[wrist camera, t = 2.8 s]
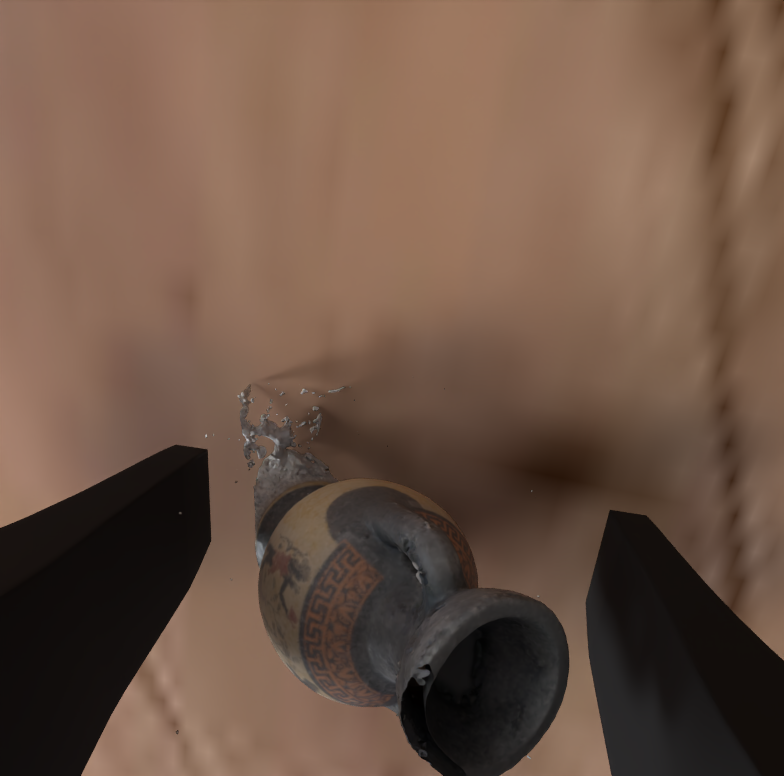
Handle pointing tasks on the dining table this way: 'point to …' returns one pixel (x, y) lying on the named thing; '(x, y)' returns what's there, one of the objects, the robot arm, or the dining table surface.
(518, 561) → the dining table surface
